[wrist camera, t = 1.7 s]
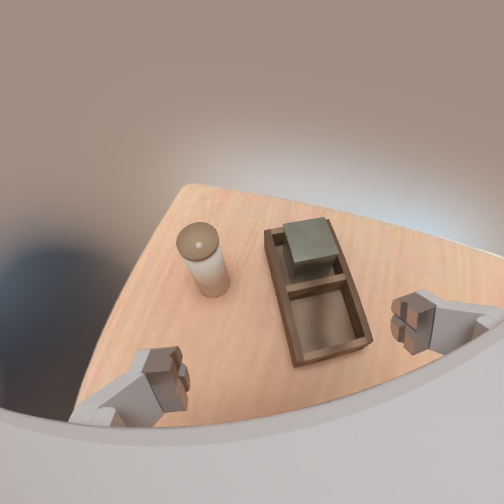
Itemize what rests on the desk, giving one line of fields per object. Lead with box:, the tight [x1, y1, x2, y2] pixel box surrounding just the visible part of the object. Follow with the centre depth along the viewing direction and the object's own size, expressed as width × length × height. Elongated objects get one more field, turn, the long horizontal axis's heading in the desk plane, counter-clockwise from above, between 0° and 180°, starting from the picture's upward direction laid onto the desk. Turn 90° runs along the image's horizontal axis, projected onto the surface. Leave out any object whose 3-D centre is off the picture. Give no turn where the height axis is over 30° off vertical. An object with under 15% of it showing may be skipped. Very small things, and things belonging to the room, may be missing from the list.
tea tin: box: [282, 217, 339, 285], centre depth 41 cm, size 6×6×8 cm
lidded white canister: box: [176, 222, 230, 298], centre depth 40 cm, size 5×5×13 cm
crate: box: [264, 219, 373, 368], centre depth 41 cm, size 11×21×5 cm, turn 11°
